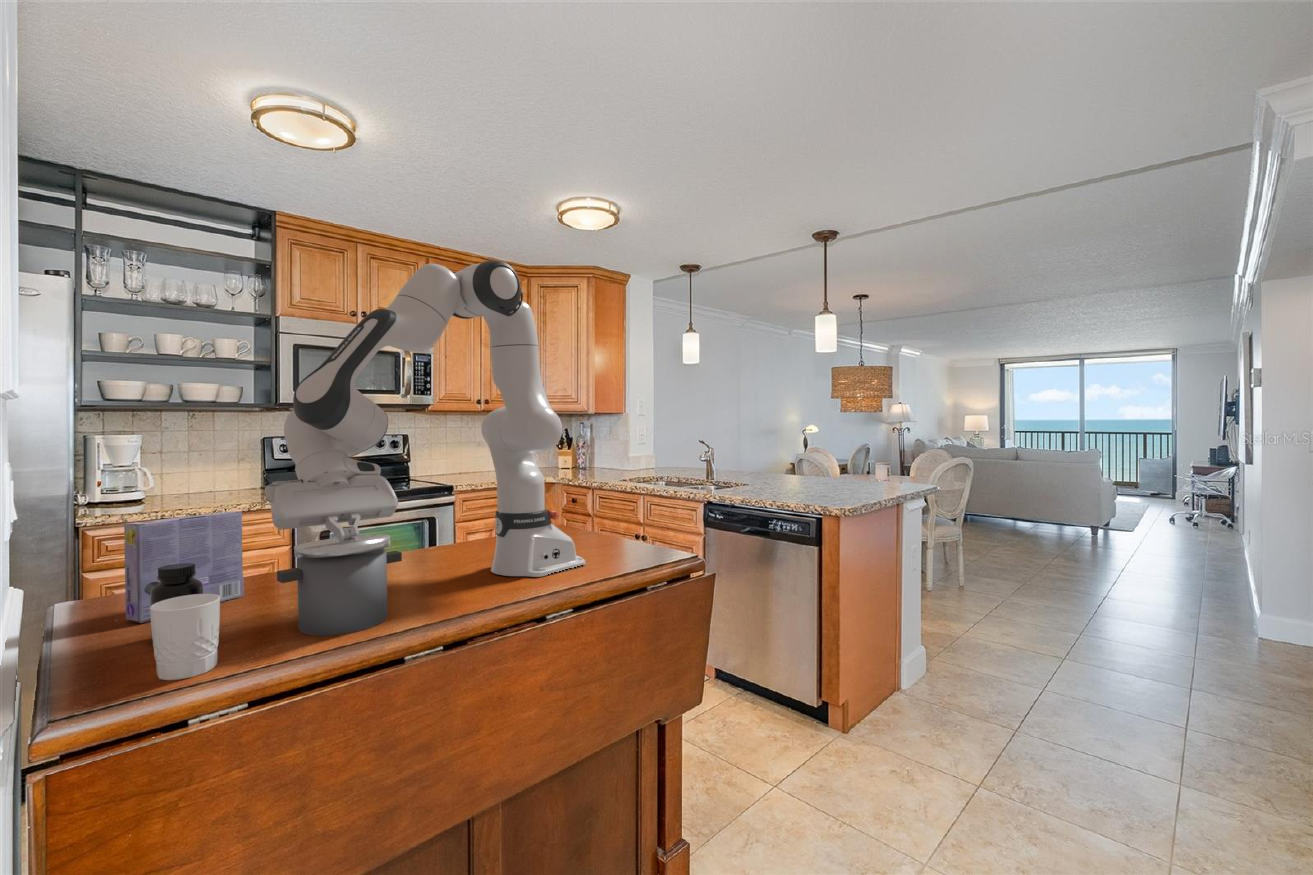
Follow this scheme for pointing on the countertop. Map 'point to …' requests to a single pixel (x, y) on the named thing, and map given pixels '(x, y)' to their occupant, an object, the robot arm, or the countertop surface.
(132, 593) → the cake pan box
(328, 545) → the lid
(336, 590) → the gray cooking pot
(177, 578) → the supplement bottle
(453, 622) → the countertop surface
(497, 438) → the robot arm
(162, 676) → the white cup
